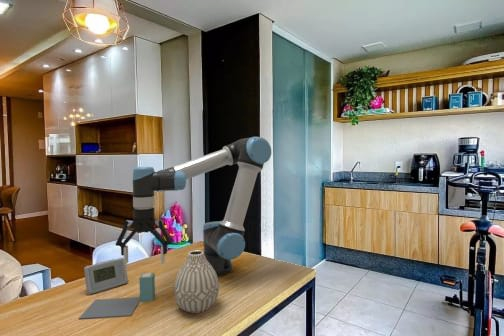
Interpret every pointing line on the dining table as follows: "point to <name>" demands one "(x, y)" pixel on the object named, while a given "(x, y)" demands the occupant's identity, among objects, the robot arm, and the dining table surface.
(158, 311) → the dining table surface
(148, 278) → the block
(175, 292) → the vase
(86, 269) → the digital clock
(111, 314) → the mat
